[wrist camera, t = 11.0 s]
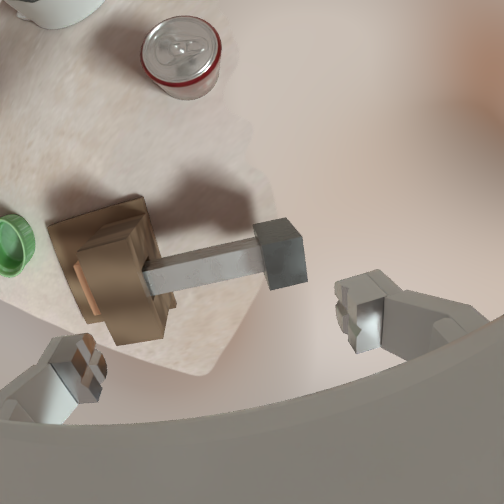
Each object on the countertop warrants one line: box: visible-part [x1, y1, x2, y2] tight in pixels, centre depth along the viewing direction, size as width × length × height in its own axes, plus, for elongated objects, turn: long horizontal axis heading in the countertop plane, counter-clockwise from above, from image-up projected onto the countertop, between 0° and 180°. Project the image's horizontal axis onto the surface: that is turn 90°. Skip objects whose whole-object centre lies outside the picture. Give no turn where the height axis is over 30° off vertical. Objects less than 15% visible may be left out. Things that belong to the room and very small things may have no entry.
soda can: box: [140, 16, 222, 100], centre depth 27 cm, size 7×7×12 cm
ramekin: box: [0, 214, 35, 278], centre depth 35 cm, size 9×9×4 cm
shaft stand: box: [47, 197, 177, 346], centre depth 35 cm, size 16×15×11 cm
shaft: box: [141, 218, 308, 296], centre depth 34 cm, size 5×20×7 cm, turn 101°
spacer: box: [73, 260, 101, 315], centre depth 36 cm, size 7×3×6 cm, turn 10°
